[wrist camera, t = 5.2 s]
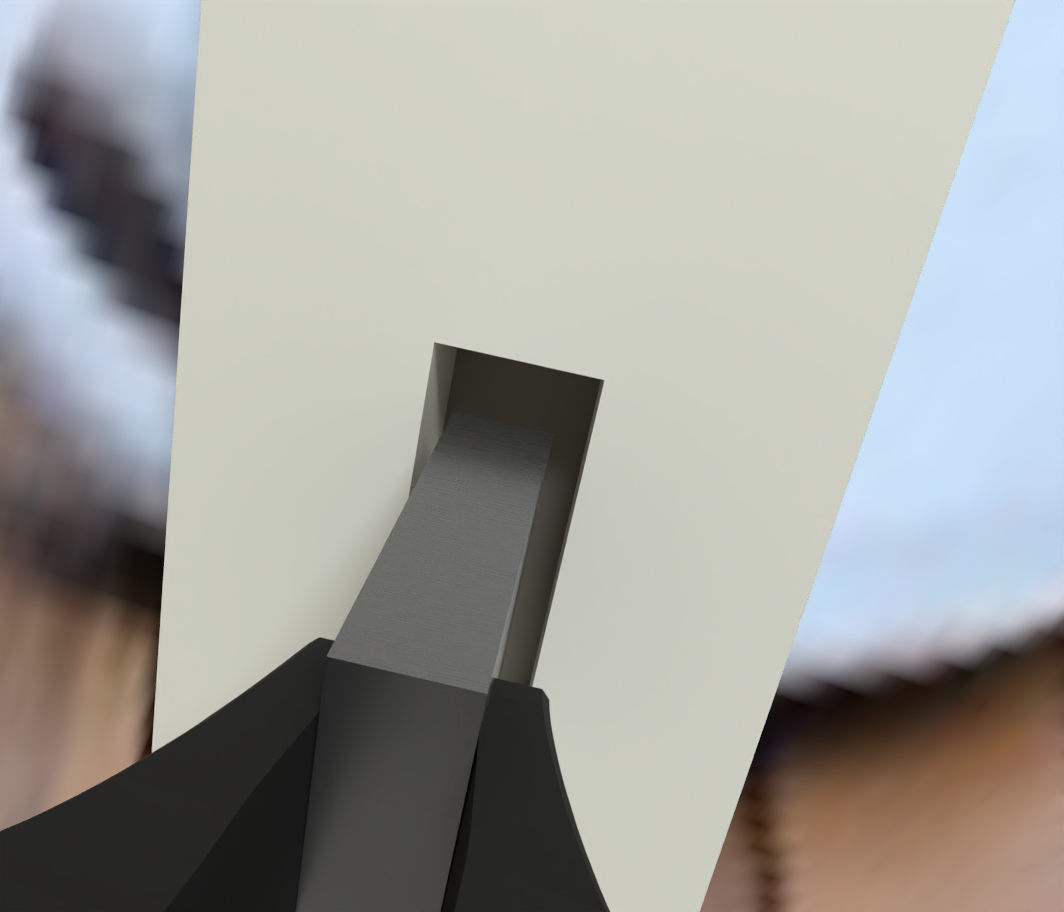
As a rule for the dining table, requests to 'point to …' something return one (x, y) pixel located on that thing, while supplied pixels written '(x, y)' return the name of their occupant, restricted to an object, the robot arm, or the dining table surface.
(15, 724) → the dining table surface
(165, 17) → the dining table surface
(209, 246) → the post foot
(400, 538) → the metal block
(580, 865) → the robot arm
